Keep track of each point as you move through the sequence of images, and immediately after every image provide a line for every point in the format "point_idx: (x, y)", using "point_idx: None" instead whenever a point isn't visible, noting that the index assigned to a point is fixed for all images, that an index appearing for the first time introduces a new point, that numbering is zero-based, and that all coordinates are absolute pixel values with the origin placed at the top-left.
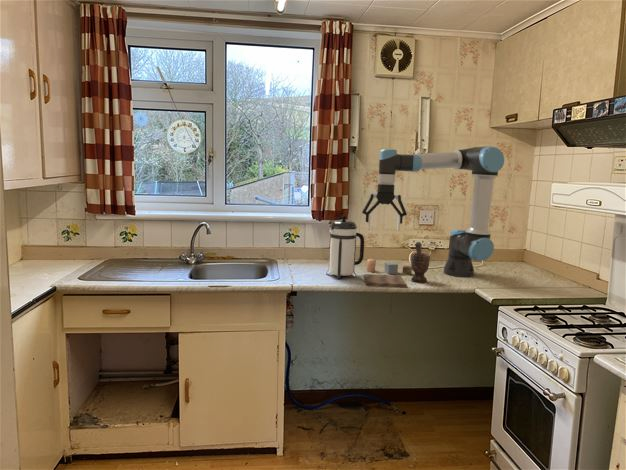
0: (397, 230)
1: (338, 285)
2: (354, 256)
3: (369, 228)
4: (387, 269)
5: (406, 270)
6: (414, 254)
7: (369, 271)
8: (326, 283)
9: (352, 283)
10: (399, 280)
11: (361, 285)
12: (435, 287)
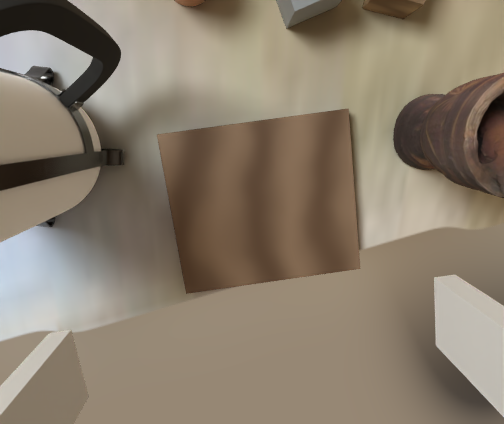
0: (436, 330)
1: (69, 314)
2: (63, 174)
3: (78, 409)
4: (284, 6)
5: (392, 5)
6: (486, 109)
7: (181, 3)
8: (12, 300)
9: (123, 266)
10: (333, 211)
11: (165, 286)
12: (480, 224)
